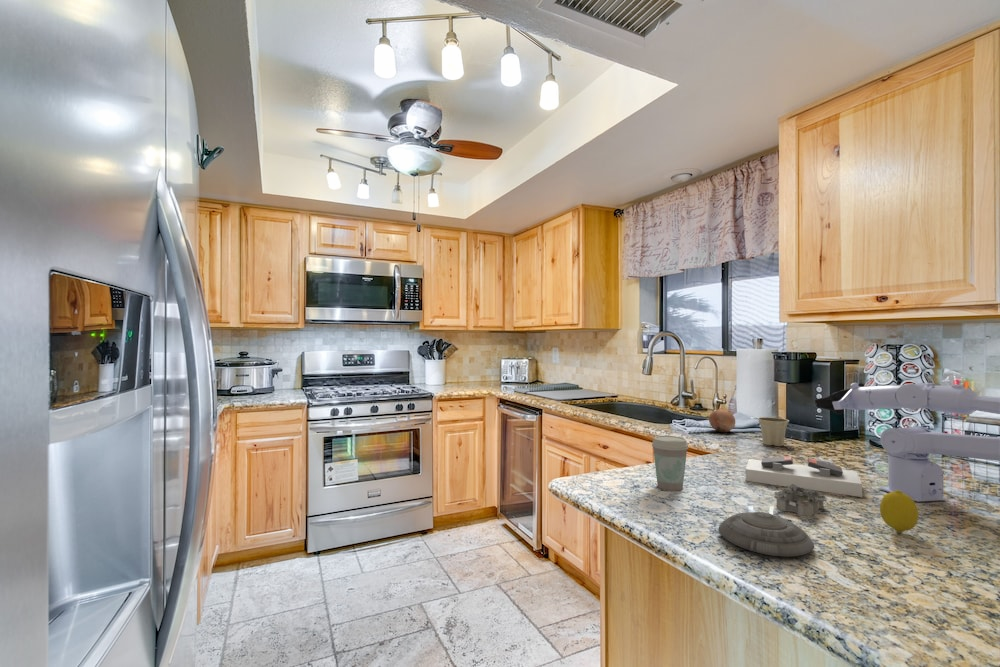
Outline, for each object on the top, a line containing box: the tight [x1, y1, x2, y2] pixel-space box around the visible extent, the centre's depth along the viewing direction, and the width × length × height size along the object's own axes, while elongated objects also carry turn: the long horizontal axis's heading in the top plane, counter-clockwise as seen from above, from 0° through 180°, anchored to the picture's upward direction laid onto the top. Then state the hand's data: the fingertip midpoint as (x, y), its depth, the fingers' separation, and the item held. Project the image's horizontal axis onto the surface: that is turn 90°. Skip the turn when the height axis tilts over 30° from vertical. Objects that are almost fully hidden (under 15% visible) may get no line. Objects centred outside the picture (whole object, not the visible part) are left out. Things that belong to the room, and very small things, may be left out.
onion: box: [708, 407, 736, 434], centre depth 186 cm, size 10×9×10 cm
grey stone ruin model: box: [774, 484, 827, 517], centre depth 103 cm, size 11×8×4 cm
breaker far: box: [761, 455, 794, 466], centre depth 124 cm, size 7×5×2 cm
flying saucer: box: [718, 511, 815, 557], centre depth 85 cm, size 15×15×6 cm
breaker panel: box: [745, 456, 863, 498], centre depth 121 cm, size 24×12×5 cm, turn 58°
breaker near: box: [807, 457, 843, 476], centre depth 118 cm, size 7×5×2 cm
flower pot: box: [757, 416, 790, 447], centre depth 164 cm, size 9×9×9 cm
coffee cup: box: [651, 435, 689, 492], centre depth 117 cm, size 8×8×12 cm
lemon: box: [879, 490, 919, 534], centre depth 90 cm, size 6×6×8 cm
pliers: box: [817, 456, 847, 470], centre depth 135 cm, size 10×2×15 cm
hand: (826, 399), depth 131 cm, fingers open, 7 cm apart
